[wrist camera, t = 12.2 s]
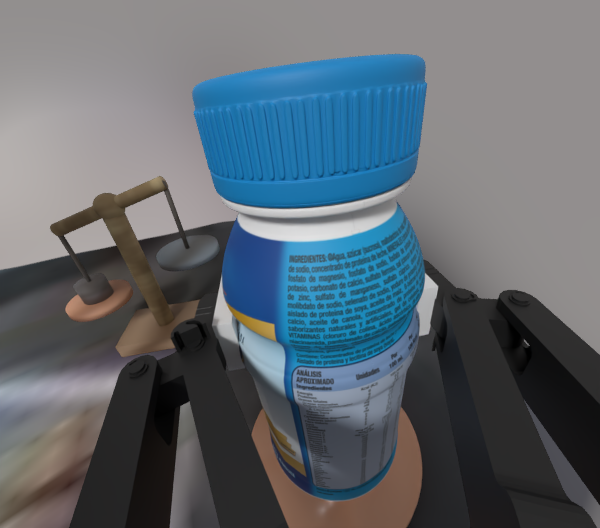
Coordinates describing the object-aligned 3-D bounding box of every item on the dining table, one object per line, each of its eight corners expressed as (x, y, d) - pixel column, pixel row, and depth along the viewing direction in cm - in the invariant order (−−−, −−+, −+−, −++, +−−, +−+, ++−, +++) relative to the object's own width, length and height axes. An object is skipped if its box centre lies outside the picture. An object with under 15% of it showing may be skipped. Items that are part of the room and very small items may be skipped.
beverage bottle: (387, 542, 14) (500, 13, 3) (246, 470, 17) (71, 94, 6) (404, 394, 20) (461, 55, 10) (300, 362, 23) (256, 85, 13)
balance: (86, 363, 30) (-36, 211, 20) (111, 324, 35) (22, 188, 25) (238, 336, 31) (188, 180, 21) (241, 302, 36) (201, 164, 26)
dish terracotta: (250, 590, 15) (245, 586, 14) (252, 390, 25) (250, 382, 24) (460, 541, 16) (464, 535, 15) (379, 366, 26) (380, 357, 25)
